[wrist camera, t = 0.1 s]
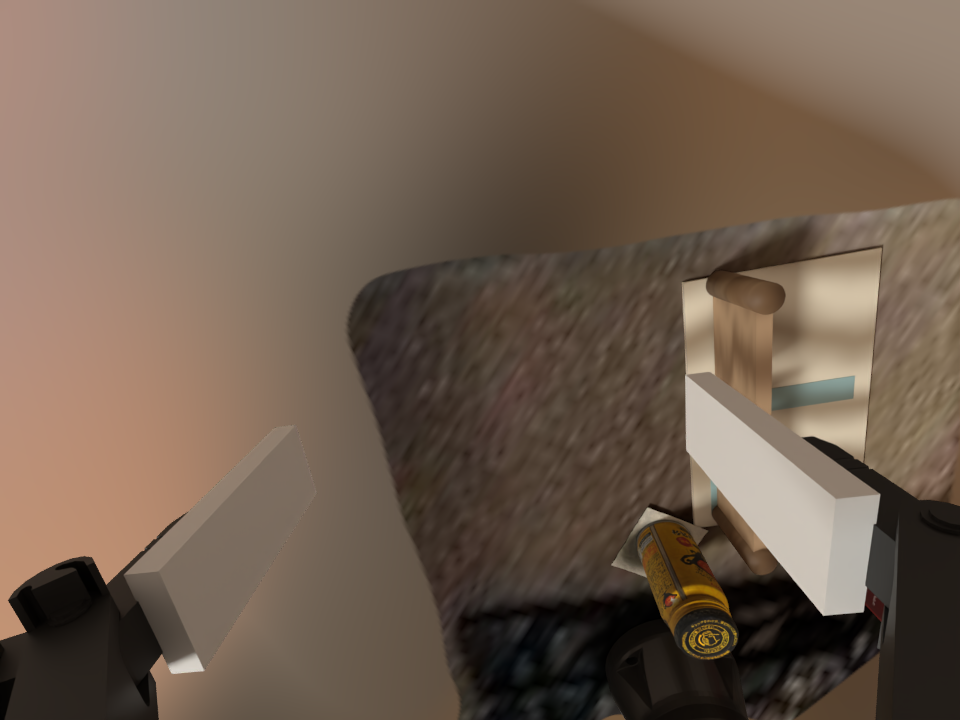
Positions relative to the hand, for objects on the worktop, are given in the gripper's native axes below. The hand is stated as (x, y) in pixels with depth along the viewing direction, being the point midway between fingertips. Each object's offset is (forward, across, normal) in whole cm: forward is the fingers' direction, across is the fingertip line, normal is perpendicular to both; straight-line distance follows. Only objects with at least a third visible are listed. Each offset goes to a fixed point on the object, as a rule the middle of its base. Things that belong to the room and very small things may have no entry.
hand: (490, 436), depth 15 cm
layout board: (+28, -26, +14) cm, 41 cm away
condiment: (+28, -14, +30) cm, 44 cm away
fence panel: (+27, -21, +6) cm, 35 cm away
